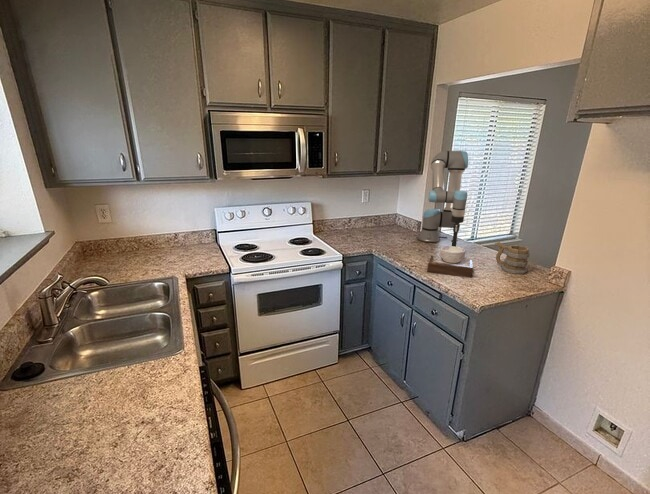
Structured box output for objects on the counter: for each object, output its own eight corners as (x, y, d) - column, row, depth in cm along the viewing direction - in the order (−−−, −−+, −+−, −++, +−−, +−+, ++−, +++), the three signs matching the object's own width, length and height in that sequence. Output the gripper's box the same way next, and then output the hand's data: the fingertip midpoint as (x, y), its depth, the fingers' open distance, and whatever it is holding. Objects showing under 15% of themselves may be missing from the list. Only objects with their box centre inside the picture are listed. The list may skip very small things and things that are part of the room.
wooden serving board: (430, 262, 223) (431, 253, 221) (471, 267, 216) (472, 258, 213) (427, 272, 209) (428, 262, 206) (471, 277, 201) (472, 267, 199)
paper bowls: (442, 255, 237) (443, 244, 234) (466, 259, 230) (468, 247, 227) (435, 262, 225) (437, 250, 222) (460, 266, 218) (462, 254, 215)
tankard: (529, 270, 212) (535, 246, 206) (520, 275, 204) (526, 250, 199) (496, 261, 226) (500, 239, 220) (486, 266, 218) (491, 243, 212)
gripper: (452, 213, 232) (447, 247, 241) (451, 217, 221) (446, 253, 230) (464, 214, 229) (459, 248, 238) (464, 218, 218) (458, 254, 227)
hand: (453, 251), depth 234 cm, fingers closed
